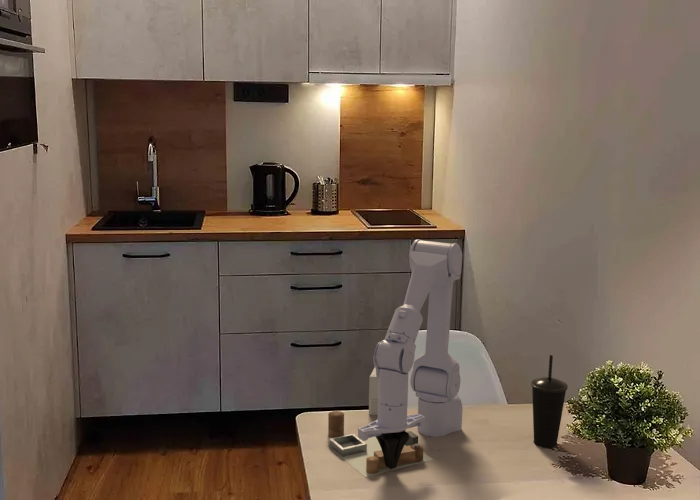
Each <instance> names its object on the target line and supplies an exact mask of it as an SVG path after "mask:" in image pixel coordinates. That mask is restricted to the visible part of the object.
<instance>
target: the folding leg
mask: <svg viewBox="0 0 700 500" xmlns="http://www.w3.org/2000/svg"><path fill="white" fill-rule="evenodd" d="M424 449H425V448H424V446H423V445H421V444H420V443H418V444H414V445H412V446H410V445H409V446H404V447H403V449H402V451H401V454H400V457H399V460H398V463H397V465H400V464H406V463H411V462H415V461H421V460H423V453H424ZM374 457H377V458H378V459H379V463H378V468H383V467H387V466H386V465H385V460H384V456H383V452H382V450H380V451H374Z"/></svg>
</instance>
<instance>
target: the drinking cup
mask: <svg viewBox="0 0 700 500" xmlns="http://www.w3.org/2000/svg"><path fill="white" fill-rule="evenodd" d="M553 357H554V355H551V354H550V355H549V358H548V359H549V361H548V374H547V376H542V377H541V376H540V377H539V378H534V379H532V380H531V382H530V386H531V388H532V389H531V390H532V391H531V392H532V395H531V396H532V423H533V425H532V427H533V443H534V445H535V446H537V447H539V448H543V449H552V448H556V447H557V445H558V444H557V443H558V438H559V434H560V428H561V427H560V426H561V421H562V416H563V410H564V404H565V398H566V392H567V390H568V389H569V388H568V387H569V386H568V384H567V383H566V382H565V381H563V380H560V379H559V378H556V377H553V375H552V372H553V359H554V358H553Z"/></svg>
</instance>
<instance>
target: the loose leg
mask: <svg viewBox="0 0 700 500" xmlns="http://www.w3.org/2000/svg"><path fill="white" fill-rule="evenodd" d="M327 418H328V420H327V421H328V422H327V423H328V426H327V427H328V430H327V431H328V432H327V435H328V437H329V438H330V439H331V438H335V437H339V436H344V435H345V413H344V412H343V411H341V410H340V411H339V410H334V411H333V410H332V411H330V412H328V417H327Z"/></svg>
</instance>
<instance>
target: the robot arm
mask: <svg viewBox="0 0 700 500" xmlns="http://www.w3.org/2000/svg"><path fill="white" fill-rule="evenodd" d="M408 259H409V260H408V262H409V268H410V270H411V271H410V272H411V275H410V278H409V282H408V286H407V290H406V294H405V297H404V301H403V305H400V306H399V307H397V308H395V310H394V313H393V316H392V319H391V321H390V323H389V326H388V329H387V331H386V333H385V337H384V339H382V341H379V342H378V343H377V344H376V346H375V349H374V352H373V353H374V354H373V357H372V359H373V365H374V367H375V368H376V377H377V378H379V383H378V415H377V417H376V420H374V421H372V422H370V423H368V424H366V425H364V426H361V427H357V437H358V438H360V439H361V440H363V441H366V440H368V438H371V437H375V436H376V438H377V440H378V442H379V444H380V447H381V449H382V452H383V456H384V460H385V465H386V466H387V467H388V468H390V469H393V468H396V467H397V463H398V460H399V457H400V454H401V451H402V449H403V447H404V445H405V444H406V442H407V441H408V440H409V434H408V433H407V432H408V431H406V430H408V429H411V428H412V429H413V428H414V427H415V428H417V432H418V433H420V434H422V435H425V436H428V437H435V438H437V437H443V436H447V435H449V434H451V433H454V432H455V433H456V432H458V431H461V430H462V429H463V427H462V425H463V403H462V400H461V398H460V397H459V395H458V393H459V392H460V388H461V374H460V363H459V362H458V361H457V360H456V359H455V358H454V357H453V356H452V355H450V353H449V341H450V329H451V316H452V303H453V302H452V301H453V300H452V299H453V287H454V282H455V281H457V280H460V278H461V274H462V266H463V251H462V249H461V247H460V245H459V244H458V243H456V242H454V243H449V242H442V241H441V242H439V241H431V240H422V239H418V238H417V239H415V240H414V241H413V243H412V244H411V246H410V247H409V253H408ZM428 296H429V297H428ZM427 298H428V310H427V323H426V336H425V338H426V339H425V349H424V350H425V352H424V353H422V354H420V355H419V356H417V357H416V358H415V353H416V347H417V345H416V344H415V343H416V340H417V337H418V334H419V331H420V329H421V325H422V323H423V321H424V318H423V315H422V314H421V309H422V308H423V305H424V303H425V301H426V299H427ZM411 369H412V370H411ZM410 371H411V374H410V381H409V372H410ZM409 383H410V388H411V389H412V391H413V392H414V393H415V397H417V398H418V401H417V413H416V414H408V400H409V399H408V398H409V396H408V395H409Z"/></svg>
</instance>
